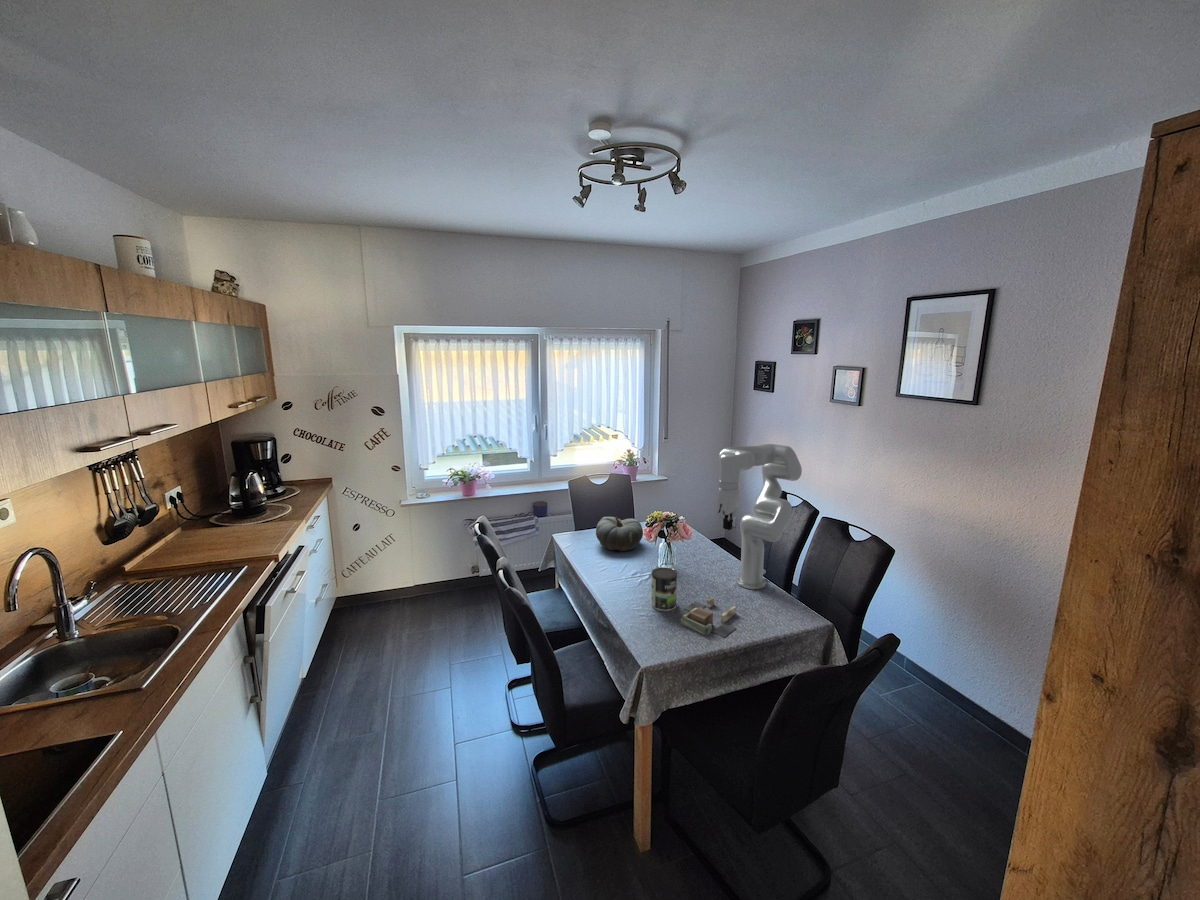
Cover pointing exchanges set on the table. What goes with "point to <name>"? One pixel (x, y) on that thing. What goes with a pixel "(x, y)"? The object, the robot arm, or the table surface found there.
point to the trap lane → (721, 630)
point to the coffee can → (664, 589)
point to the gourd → (619, 533)
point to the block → (702, 616)
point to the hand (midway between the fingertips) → (727, 528)
